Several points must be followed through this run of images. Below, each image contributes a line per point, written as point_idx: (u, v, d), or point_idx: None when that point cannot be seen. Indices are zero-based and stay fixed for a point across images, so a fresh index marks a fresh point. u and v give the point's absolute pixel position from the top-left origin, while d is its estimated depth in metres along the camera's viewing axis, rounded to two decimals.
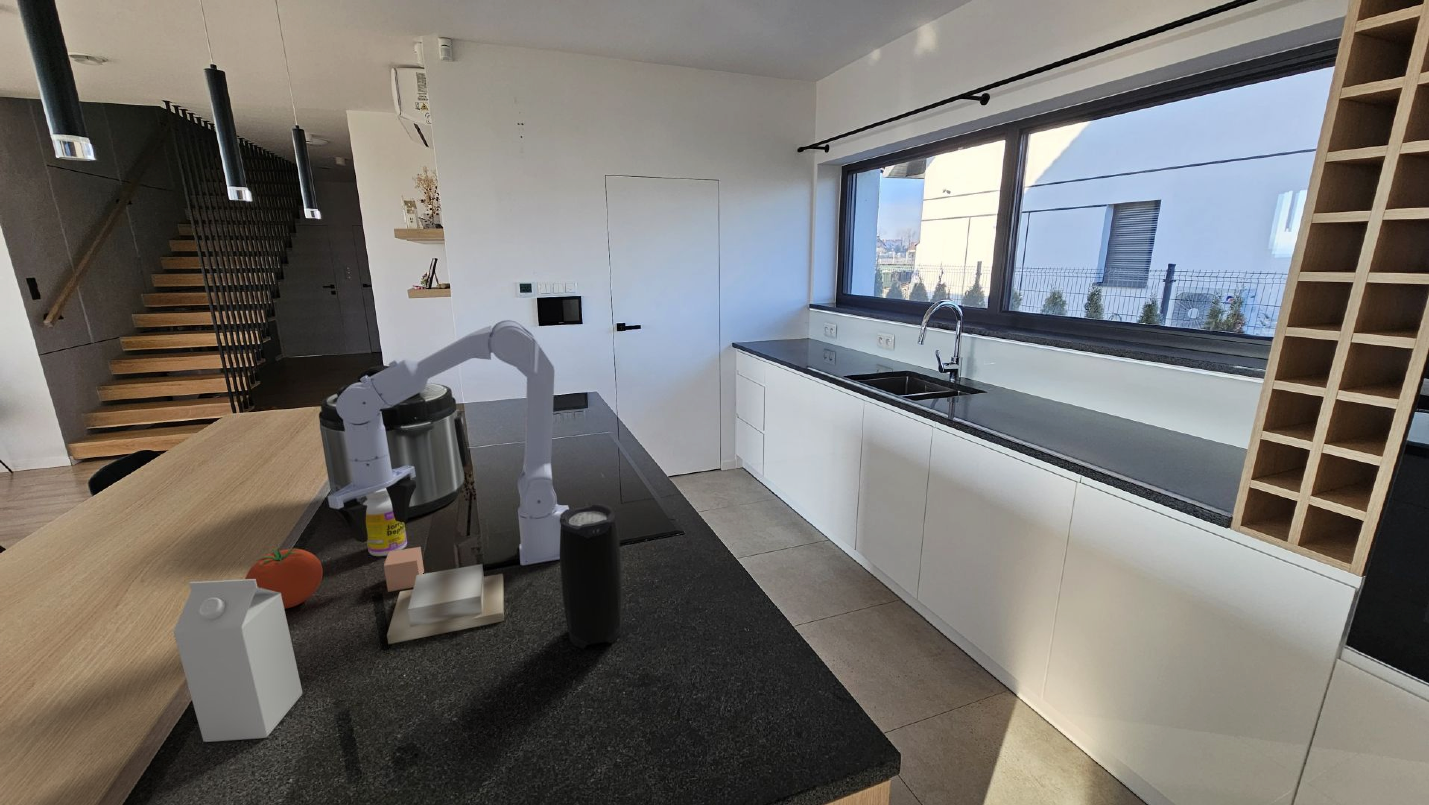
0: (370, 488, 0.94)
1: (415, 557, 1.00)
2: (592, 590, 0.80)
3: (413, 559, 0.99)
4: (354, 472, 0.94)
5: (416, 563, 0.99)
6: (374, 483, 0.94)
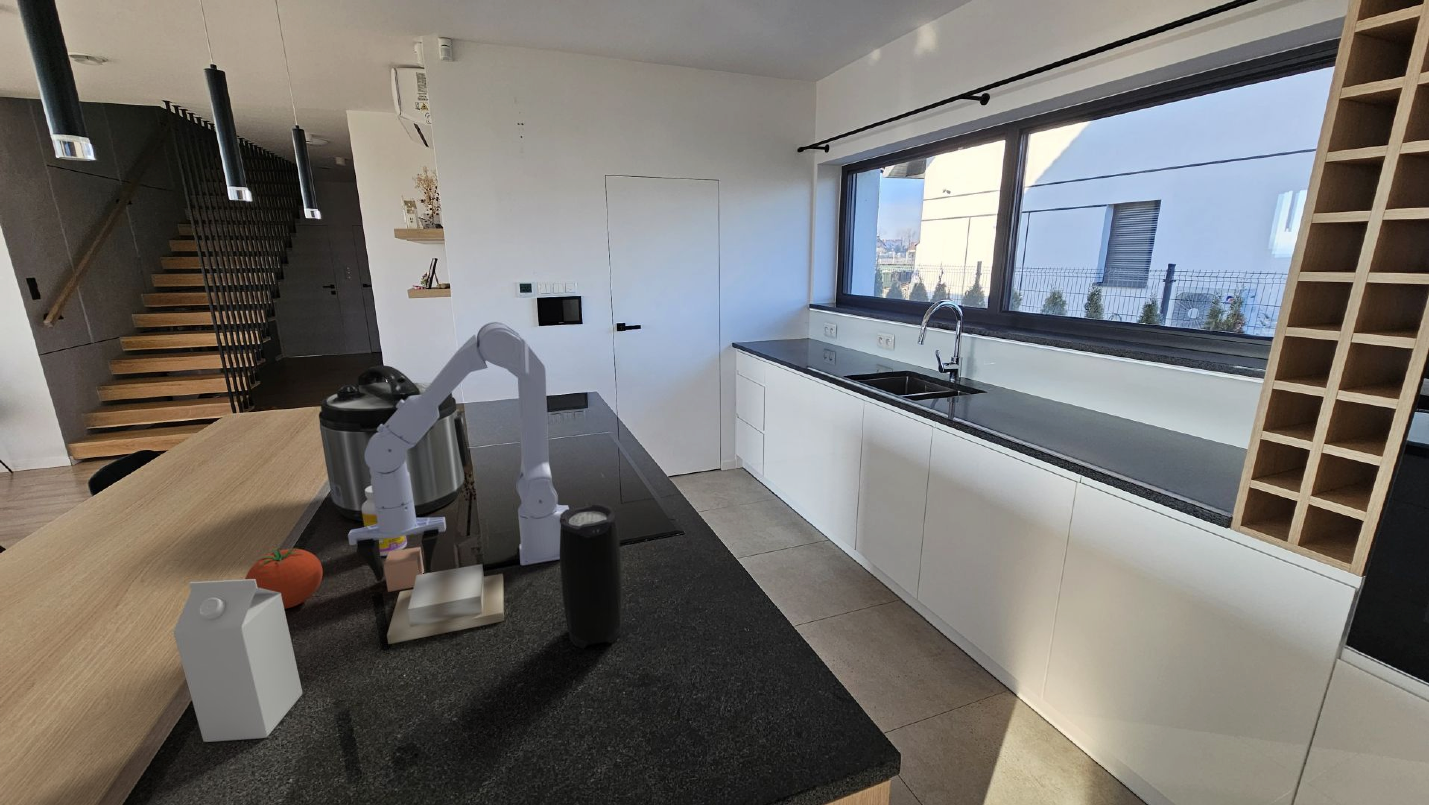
0: (379, 534, 0.96)
1: (415, 557, 1.00)
2: (592, 590, 0.80)
3: (413, 559, 0.99)
4: None
5: (416, 563, 0.99)
6: (384, 530, 0.96)
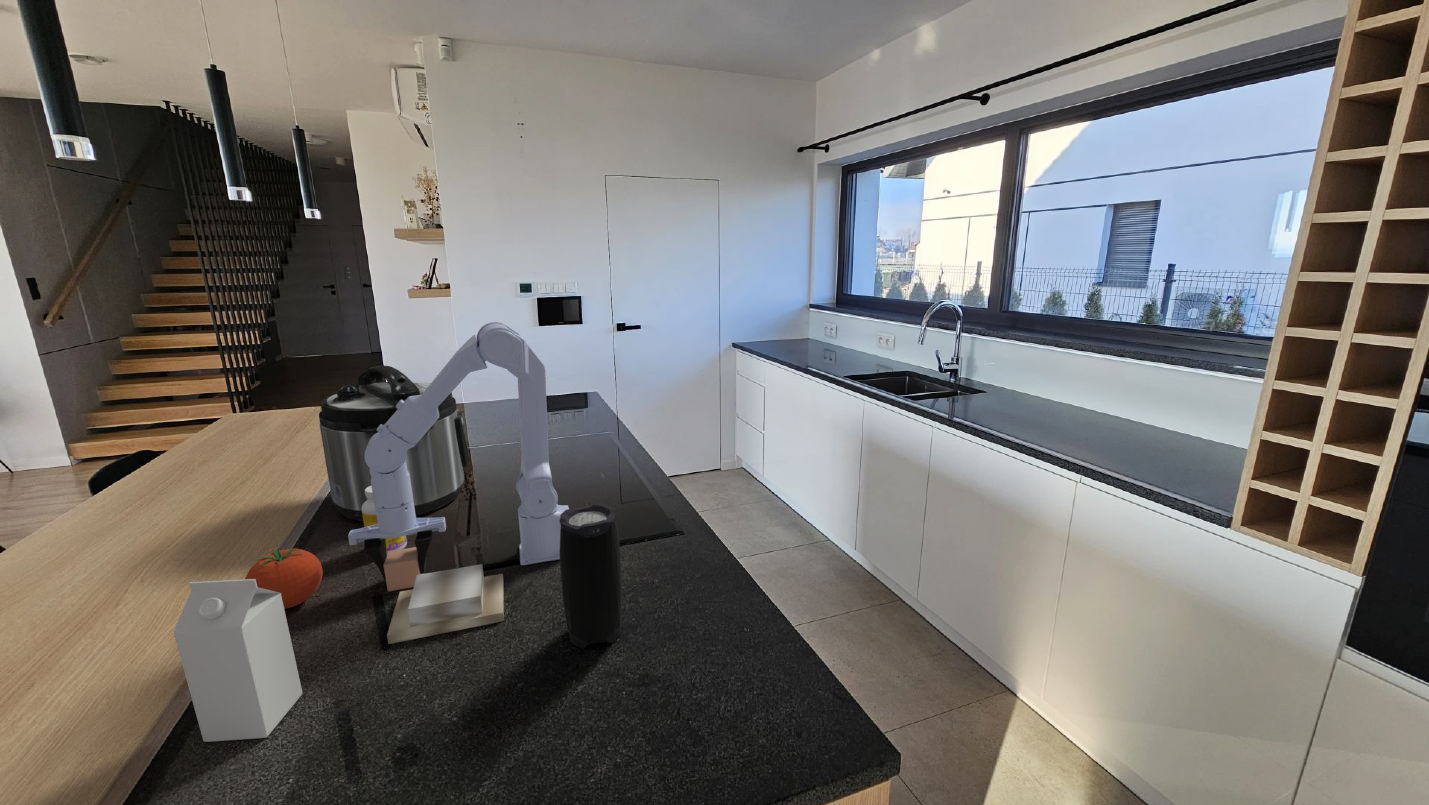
0: (379, 534, 0.96)
1: (415, 556, 1.00)
2: (592, 590, 0.80)
3: (413, 558, 0.99)
4: None
5: (416, 562, 0.99)
6: (384, 531, 0.96)
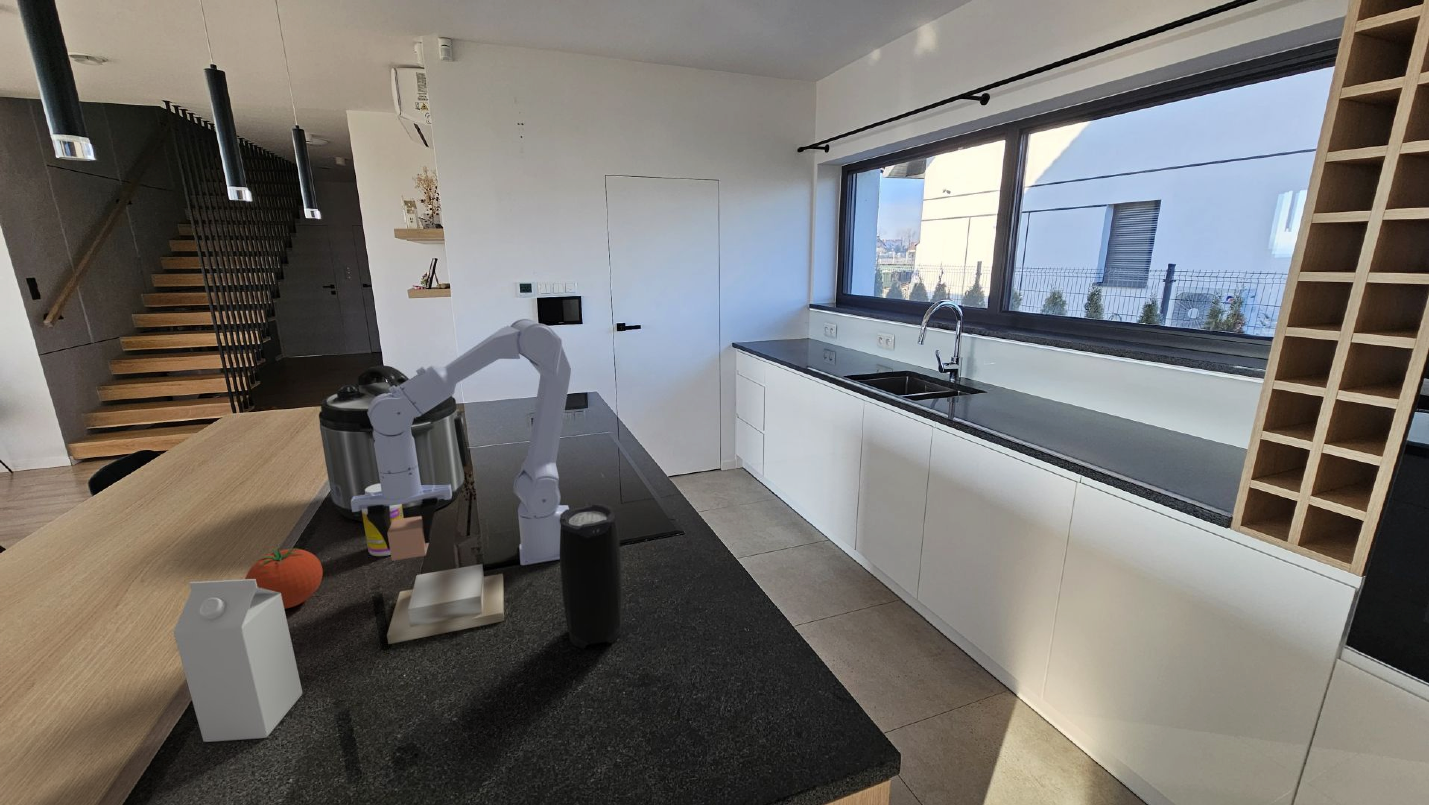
0: (382, 500, 0.92)
1: (419, 524, 0.96)
2: (592, 590, 0.80)
3: (418, 526, 0.95)
4: None
5: (421, 531, 0.95)
6: (388, 497, 0.92)
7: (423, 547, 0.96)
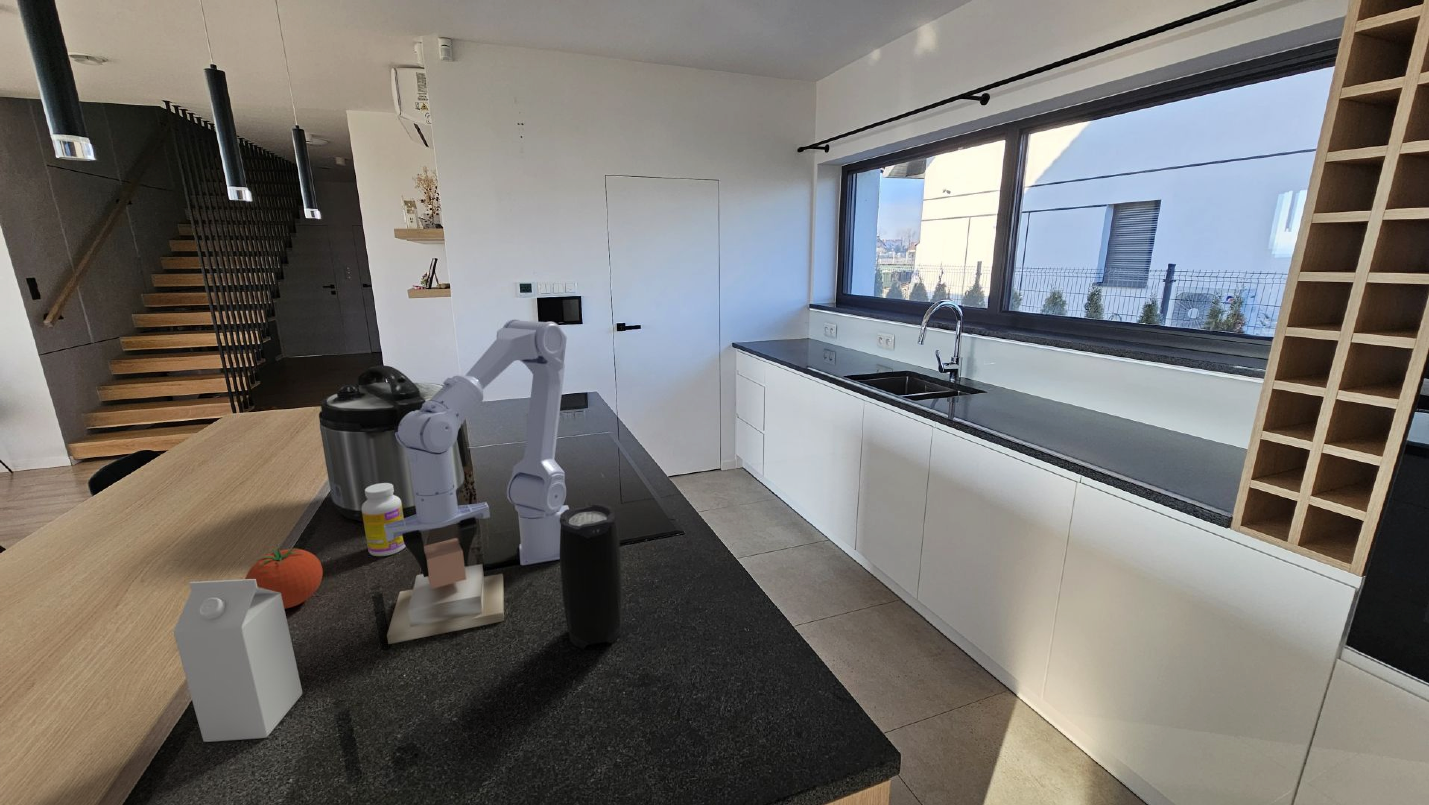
0: (422, 525, 0.86)
1: (458, 547, 0.90)
2: (592, 590, 0.80)
3: (457, 549, 0.90)
4: (415, 504, 0.87)
5: (462, 553, 0.90)
6: (428, 520, 0.86)
7: (464, 571, 0.90)
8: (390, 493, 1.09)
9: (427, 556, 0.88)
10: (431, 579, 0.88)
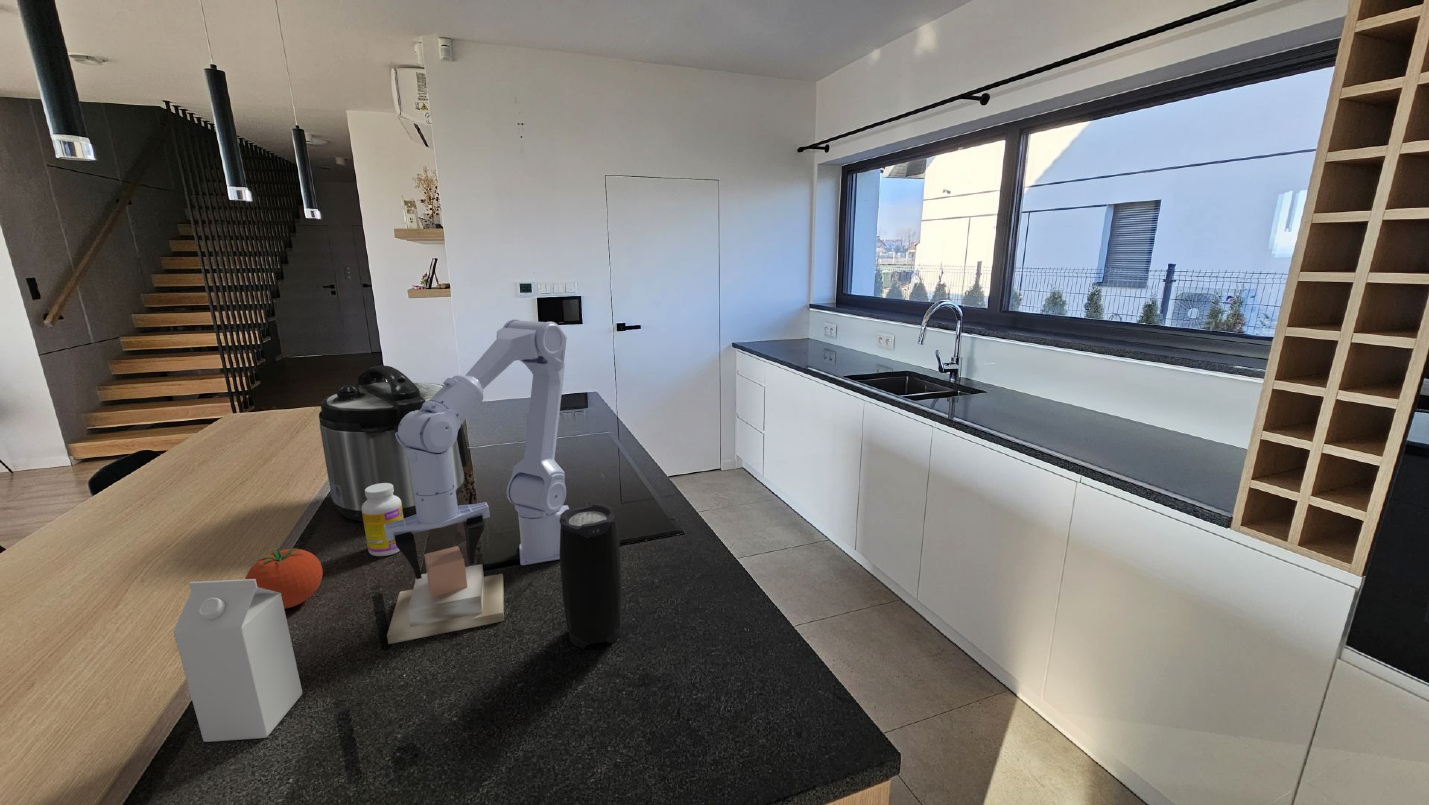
0: (422, 525, 0.86)
1: (459, 555, 0.91)
2: (592, 590, 0.80)
3: (459, 558, 0.90)
4: (415, 504, 0.87)
5: (463, 562, 0.90)
6: (428, 520, 0.86)
7: (465, 579, 0.91)
8: (390, 493, 1.09)
9: (429, 565, 0.88)
10: (432, 587, 0.88)
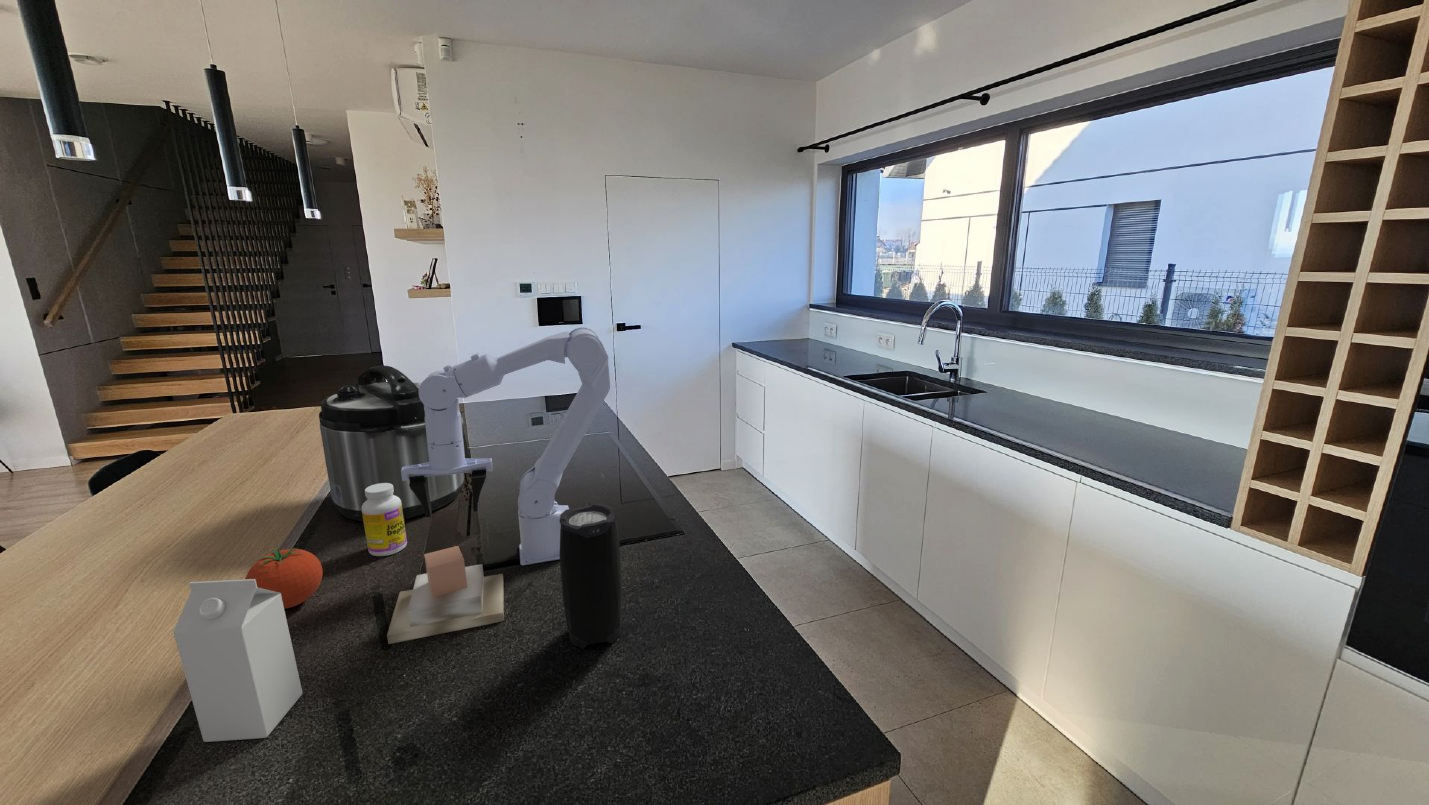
0: (431, 470, 0.99)
1: (459, 555, 0.91)
2: (592, 590, 0.80)
3: (459, 558, 0.90)
4: None
5: (463, 562, 0.90)
6: (436, 467, 0.99)
7: (465, 579, 0.91)
8: (390, 493, 1.09)
9: (429, 565, 0.88)
10: (432, 587, 0.88)
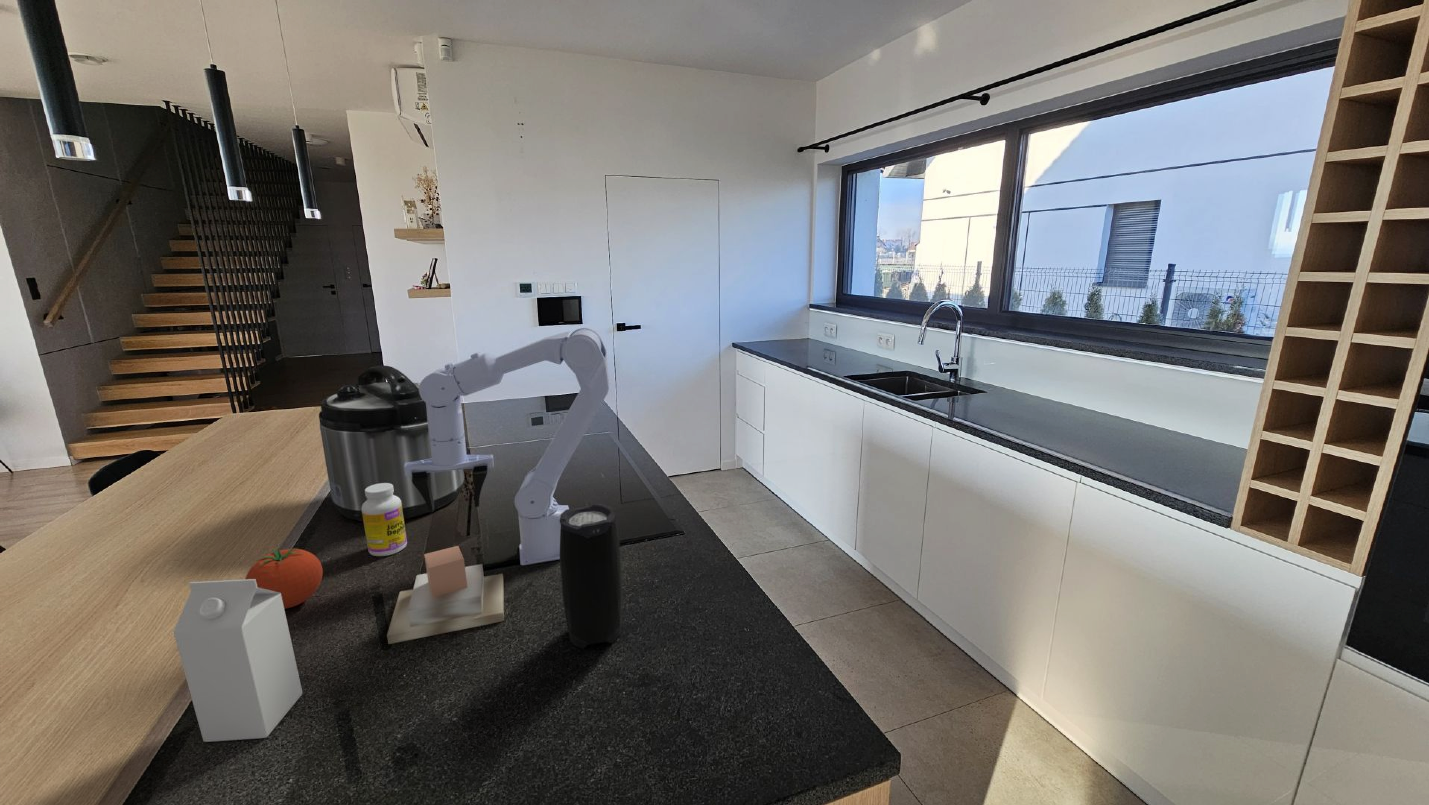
0: (433, 466, 1.01)
1: (459, 555, 0.91)
2: (592, 590, 0.80)
3: (459, 558, 0.90)
4: None
5: (463, 562, 0.90)
6: (438, 463, 1.01)
7: (465, 579, 0.91)
8: (390, 493, 1.09)
9: (429, 565, 0.88)
10: (432, 587, 0.88)
